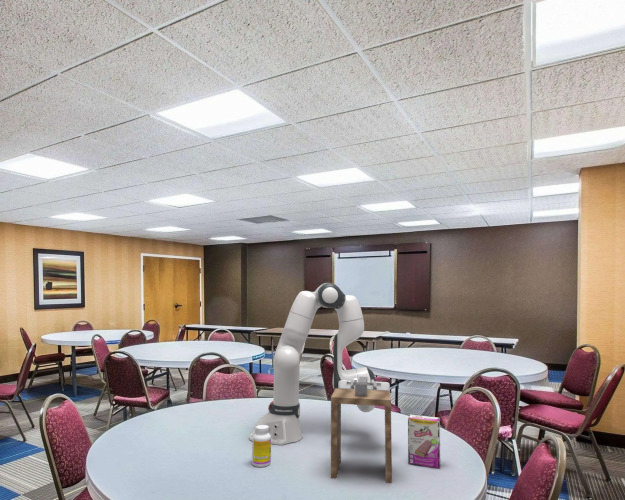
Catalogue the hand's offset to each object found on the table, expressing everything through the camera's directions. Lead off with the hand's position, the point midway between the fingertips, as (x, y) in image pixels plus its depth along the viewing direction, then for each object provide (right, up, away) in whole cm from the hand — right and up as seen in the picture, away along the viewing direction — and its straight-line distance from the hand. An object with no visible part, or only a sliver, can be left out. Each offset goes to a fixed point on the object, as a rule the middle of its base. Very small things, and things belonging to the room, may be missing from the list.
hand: (363, 381), depth 156 cm
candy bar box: (+21, -28, -9) cm, 36 cm away
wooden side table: (-2, -26, -16) cm, 31 cm away
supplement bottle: (-38, -27, -10) cm, 47 cm away
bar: (-1, -1, -7) cm, 7 cm away
